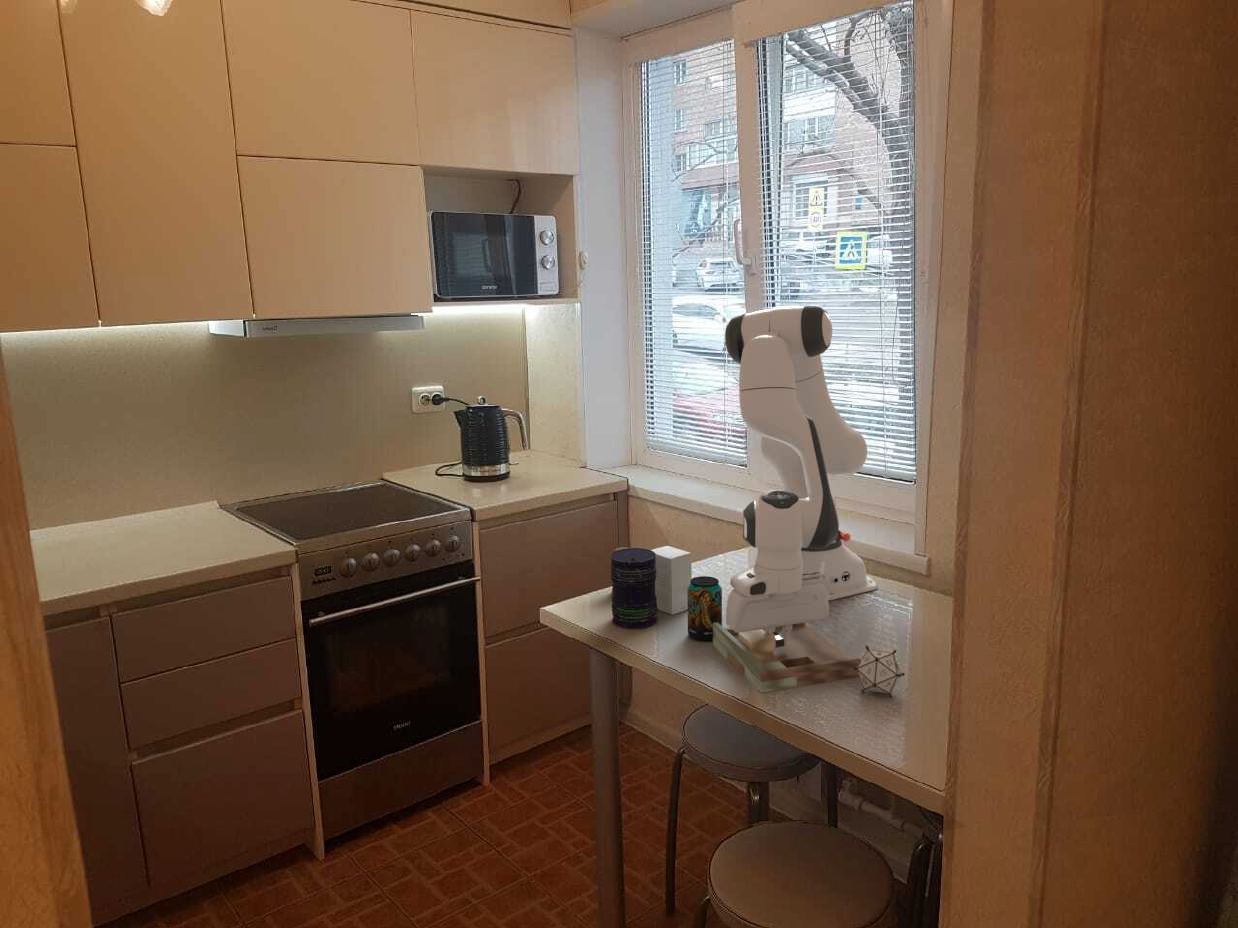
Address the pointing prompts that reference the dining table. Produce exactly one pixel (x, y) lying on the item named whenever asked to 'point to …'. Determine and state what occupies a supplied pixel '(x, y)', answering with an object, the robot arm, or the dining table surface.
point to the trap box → (787, 659)
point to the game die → (878, 671)
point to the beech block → (758, 643)
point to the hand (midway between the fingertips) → (777, 646)
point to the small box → (672, 579)
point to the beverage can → (704, 607)
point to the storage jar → (634, 588)
